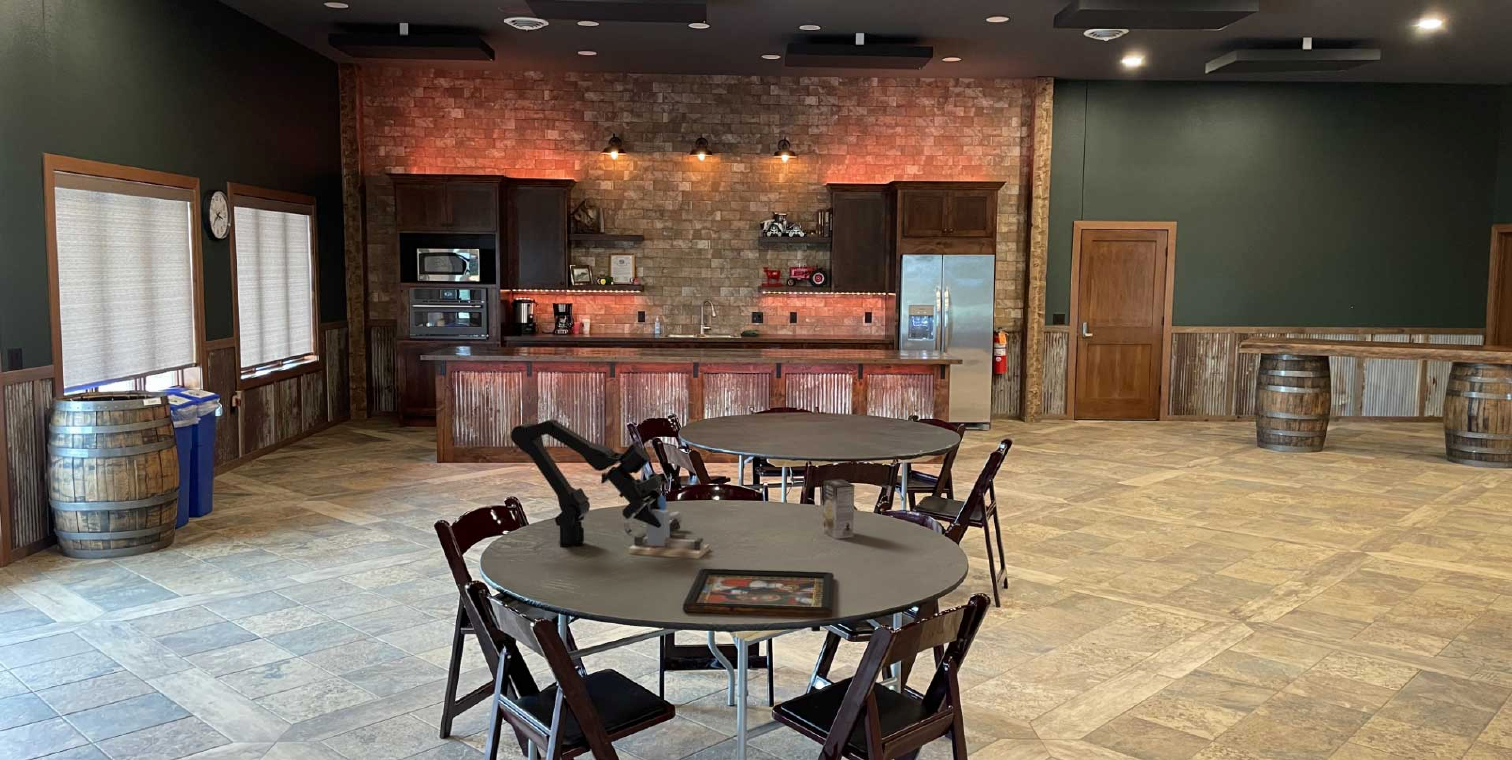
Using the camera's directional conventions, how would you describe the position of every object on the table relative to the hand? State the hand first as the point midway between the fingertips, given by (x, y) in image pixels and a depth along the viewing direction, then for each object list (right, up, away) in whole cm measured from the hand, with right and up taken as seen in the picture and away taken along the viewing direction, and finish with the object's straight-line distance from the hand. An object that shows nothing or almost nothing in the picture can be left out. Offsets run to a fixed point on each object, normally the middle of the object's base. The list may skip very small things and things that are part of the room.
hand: (663, 524), depth 299 cm
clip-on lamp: (-5, -6, +22) cm, 24 cm away
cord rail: (+2, -8, 0) cm, 8 cm away
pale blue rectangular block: (-1, -5, +1) cm, 6 cm away
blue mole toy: (-8, -4, +40) cm, 41 cm away
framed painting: (+28, -13, -39) cm, 49 cm away
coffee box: (+51, -6, +20) cm, 55 cm away
